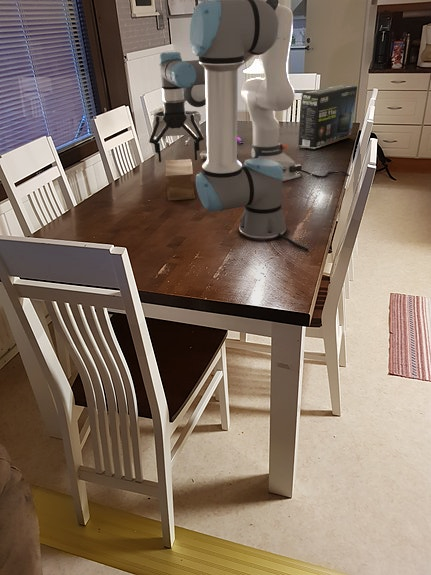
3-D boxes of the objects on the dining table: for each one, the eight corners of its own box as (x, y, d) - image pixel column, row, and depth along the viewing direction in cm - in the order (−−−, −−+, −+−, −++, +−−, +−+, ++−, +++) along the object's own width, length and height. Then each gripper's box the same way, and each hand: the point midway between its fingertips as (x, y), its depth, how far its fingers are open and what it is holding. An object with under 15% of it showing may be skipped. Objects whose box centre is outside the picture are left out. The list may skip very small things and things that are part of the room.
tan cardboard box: (168, 183, 196) (166, 160, 191) (192, 182, 197) (190, 159, 191) (167, 200, 178) (165, 175, 173) (194, 198, 179) (193, 174, 174)
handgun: (222, 137, 264) (222, 134, 263) (235, 136, 265) (235, 132, 264) (230, 145, 246) (230, 142, 245) (244, 144, 247) (244, 140, 246)
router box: (314, 151, 231) (318, 94, 217) (296, 148, 237) (299, 92, 224) (352, 138, 251) (358, 85, 238) (335, 135, 258) (340, 83, 245)
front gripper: (207, 97, 167) (210, 155, 178) (139, 100, 166) (145, 159, 177) (209, 101, 161) (211, 161, 172) (137, 104, 159) (144, 165, 170)
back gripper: (200, 109, 190) (201, 143, 197) (150, 111, 189) (154, 145, 196) (200, 111, 184) (202, 146, 192) (149, 114, 183) (153, 149, 190)
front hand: (178, 160), depth 174 cm, fingers open, 13 cm apart
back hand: (177, 146), depth 194 cm, fingers open, 7 cm apart
